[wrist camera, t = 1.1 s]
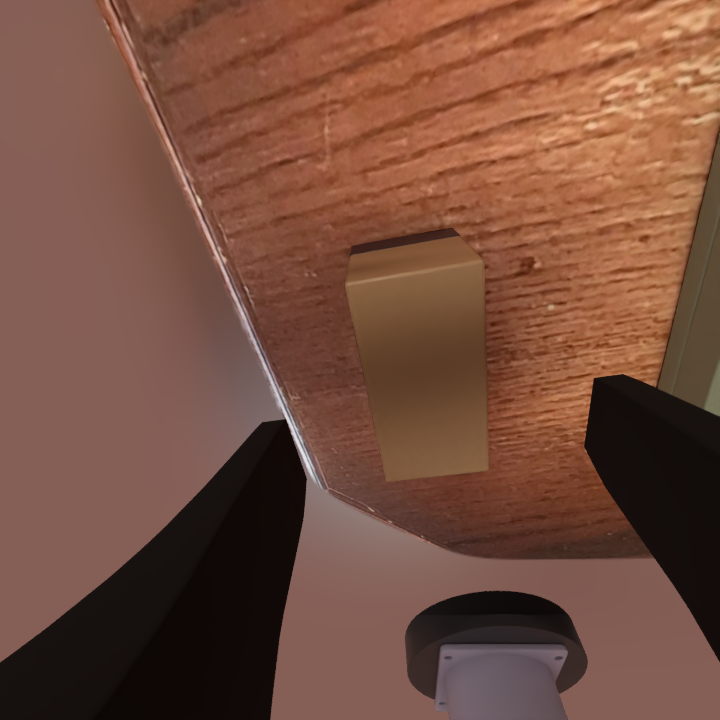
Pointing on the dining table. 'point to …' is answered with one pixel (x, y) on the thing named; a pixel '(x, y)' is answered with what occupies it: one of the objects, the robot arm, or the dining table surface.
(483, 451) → the eraser
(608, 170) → the dining table surface
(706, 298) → the tray
